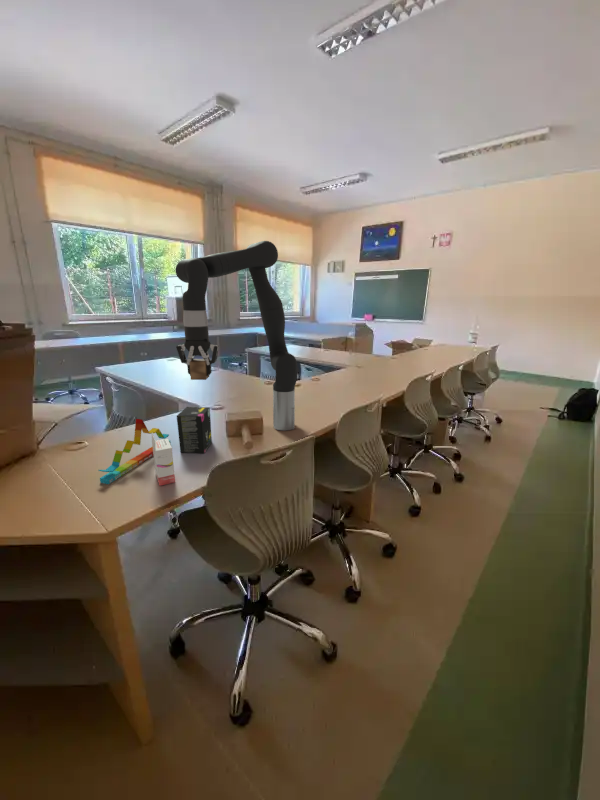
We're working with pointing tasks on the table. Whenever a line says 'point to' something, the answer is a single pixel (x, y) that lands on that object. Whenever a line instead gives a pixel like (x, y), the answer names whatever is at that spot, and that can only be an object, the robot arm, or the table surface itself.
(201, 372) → the walnut block
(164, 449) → the ink cartridge box
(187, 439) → the tampon box
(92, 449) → the table surface
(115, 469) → the chart
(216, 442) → the table surface
